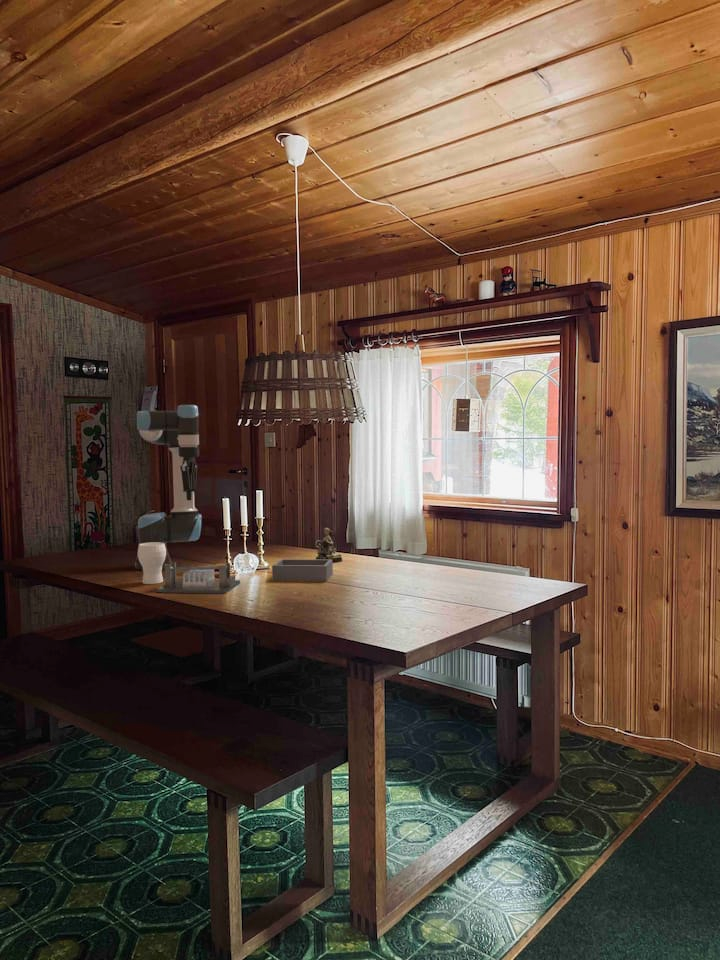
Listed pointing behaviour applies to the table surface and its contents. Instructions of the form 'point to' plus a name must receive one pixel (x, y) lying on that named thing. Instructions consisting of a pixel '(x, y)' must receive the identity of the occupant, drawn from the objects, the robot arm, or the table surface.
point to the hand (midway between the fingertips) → (190, 508)
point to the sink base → (196, 590)
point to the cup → (152, 561)
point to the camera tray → (302, 570)
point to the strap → (197, 567)
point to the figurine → (327, 548)
